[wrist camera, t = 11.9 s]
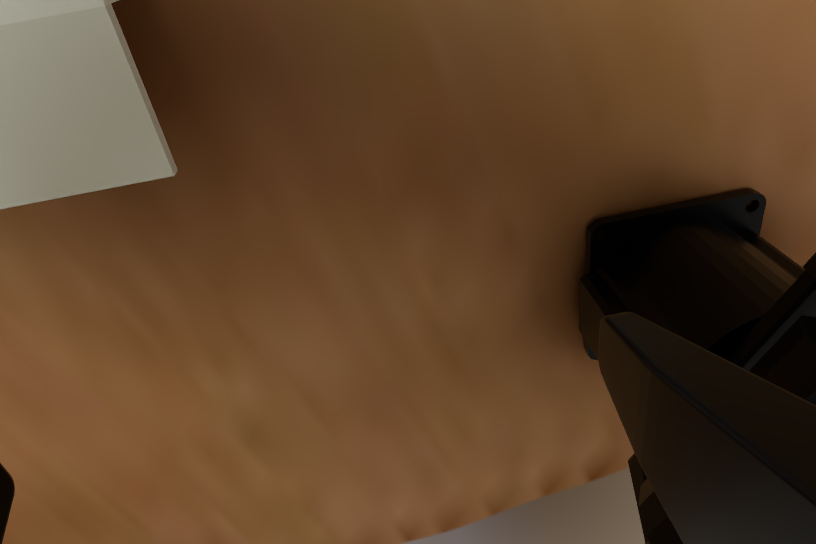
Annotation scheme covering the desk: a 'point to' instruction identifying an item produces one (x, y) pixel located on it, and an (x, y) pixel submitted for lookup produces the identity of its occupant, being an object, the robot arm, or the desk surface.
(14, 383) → the desk surface
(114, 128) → the white shallow rectangular tray
